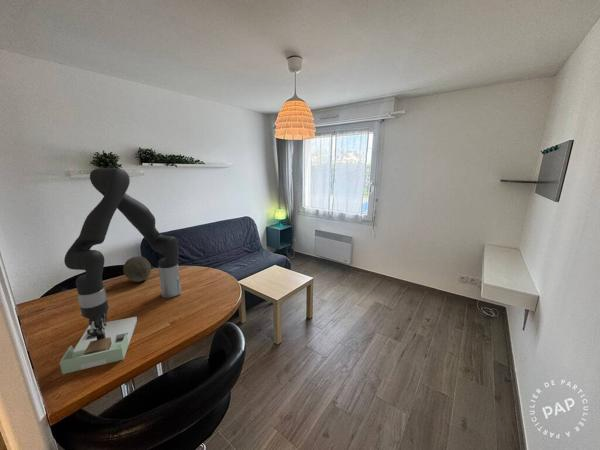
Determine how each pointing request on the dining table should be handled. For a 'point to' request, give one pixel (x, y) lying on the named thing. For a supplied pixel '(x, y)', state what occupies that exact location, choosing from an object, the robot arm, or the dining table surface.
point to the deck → (120, 341)
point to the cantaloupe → (137, 269)
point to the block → (98, 346)
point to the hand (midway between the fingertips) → (101, 340)
